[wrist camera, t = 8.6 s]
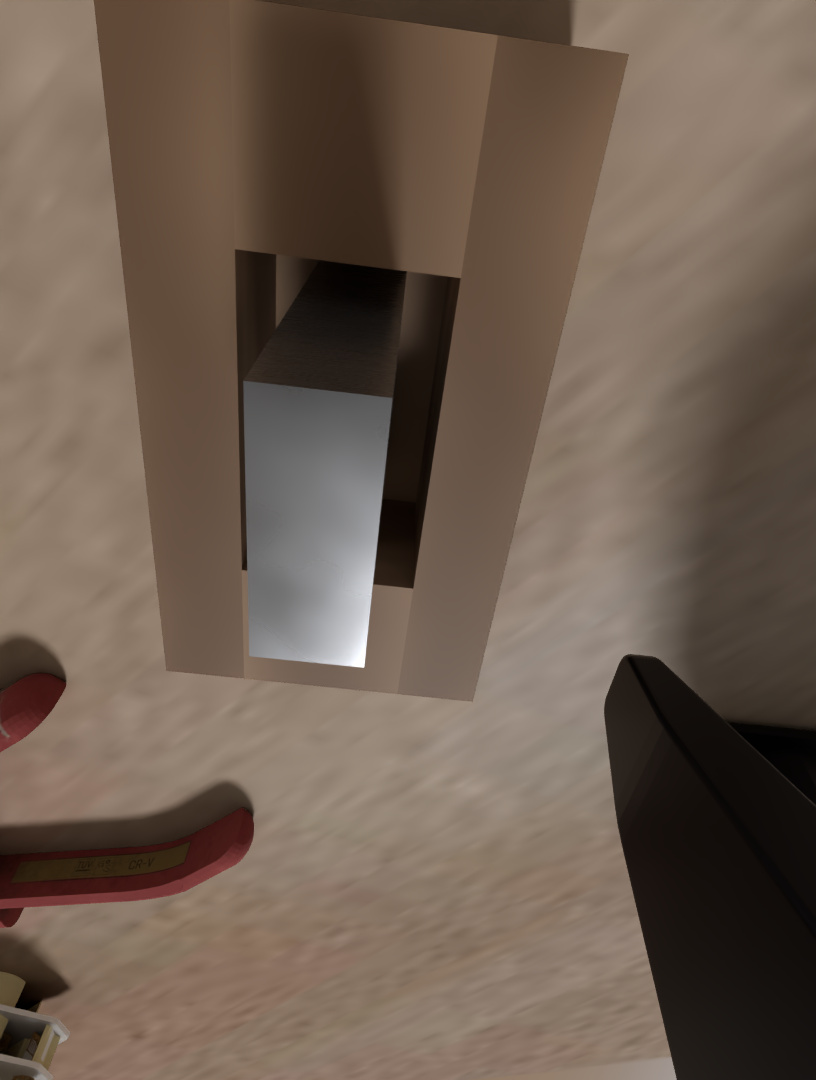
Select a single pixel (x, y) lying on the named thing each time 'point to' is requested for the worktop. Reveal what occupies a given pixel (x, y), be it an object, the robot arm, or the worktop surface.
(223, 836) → the pliers
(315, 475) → the upright grey slab
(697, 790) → the robot arm
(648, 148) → the worktop surface
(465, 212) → the rectangular wooden block
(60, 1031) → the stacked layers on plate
